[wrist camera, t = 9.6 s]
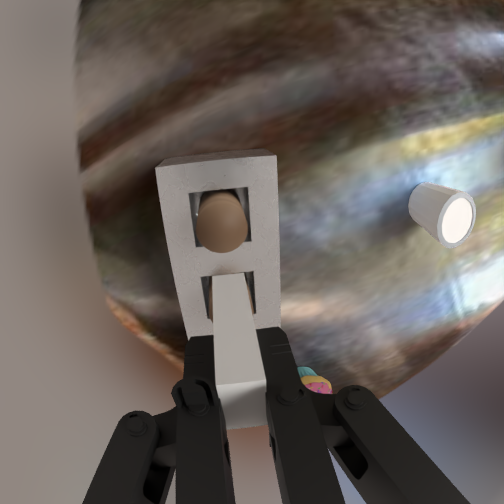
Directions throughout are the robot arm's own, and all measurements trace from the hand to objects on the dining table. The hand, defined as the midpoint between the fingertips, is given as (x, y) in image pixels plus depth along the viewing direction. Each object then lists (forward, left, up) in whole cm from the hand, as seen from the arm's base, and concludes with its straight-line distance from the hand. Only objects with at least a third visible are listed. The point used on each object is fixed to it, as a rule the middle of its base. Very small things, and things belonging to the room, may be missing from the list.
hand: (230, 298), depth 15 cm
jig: (+8, 0, -18) cm, 20 cm away
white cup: (+2, +26, -19) cm, 32 cm away
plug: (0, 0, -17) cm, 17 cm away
